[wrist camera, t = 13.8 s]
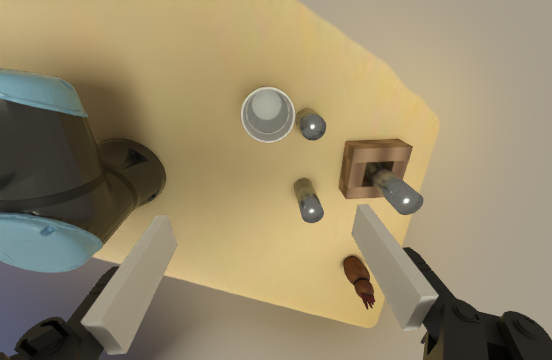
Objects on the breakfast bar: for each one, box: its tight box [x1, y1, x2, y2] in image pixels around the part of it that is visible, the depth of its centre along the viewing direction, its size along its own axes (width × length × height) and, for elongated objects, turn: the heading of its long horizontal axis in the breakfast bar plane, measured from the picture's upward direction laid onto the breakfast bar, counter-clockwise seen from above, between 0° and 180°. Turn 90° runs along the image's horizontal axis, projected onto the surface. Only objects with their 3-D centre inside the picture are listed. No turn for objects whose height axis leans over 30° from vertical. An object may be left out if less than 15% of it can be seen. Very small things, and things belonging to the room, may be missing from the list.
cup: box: [241, 86, 295, 143], centre depth 36 cm, size 8×8×12 cm
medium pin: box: [294, 178, 324, 223], centre depth 46 cm, size 4×4×11 cm
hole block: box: [339, 139, 413, 199], centre depth 47 cm, size 12×12×5 cm
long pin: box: [364, 162, 423, 215], centre depth 42 cm, size 4×4×16 cm
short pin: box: [296, 109, 326, 140], centre depth 40 cm, size 4×4×7 cm
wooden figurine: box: [344, 257, 375, 309], centre depth 58 cm, size 7×6×15 cm
